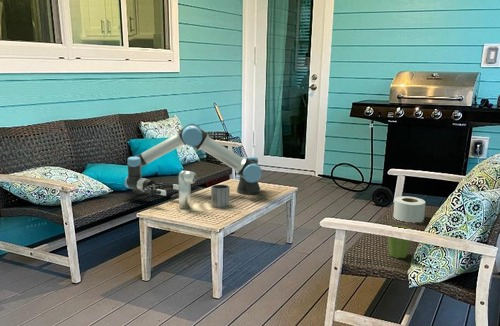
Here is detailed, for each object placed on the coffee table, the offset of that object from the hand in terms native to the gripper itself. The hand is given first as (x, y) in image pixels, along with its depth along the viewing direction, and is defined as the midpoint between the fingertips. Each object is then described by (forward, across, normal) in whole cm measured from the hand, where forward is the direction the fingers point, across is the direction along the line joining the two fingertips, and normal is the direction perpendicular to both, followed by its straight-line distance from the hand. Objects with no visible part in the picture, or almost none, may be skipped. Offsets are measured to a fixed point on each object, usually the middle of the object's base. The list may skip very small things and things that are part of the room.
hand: (174, 190), depth 245 cm
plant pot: (+123, -3, -11) cm, 124 cm away
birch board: (+15, -8, -10) cm, 19 cm away
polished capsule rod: (+9, 0, -9) cm, 12 cm away
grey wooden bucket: (+21, -15, -9) cm, 27 cm away
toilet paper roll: (+116, -56, -11) cm, 129 cm away
